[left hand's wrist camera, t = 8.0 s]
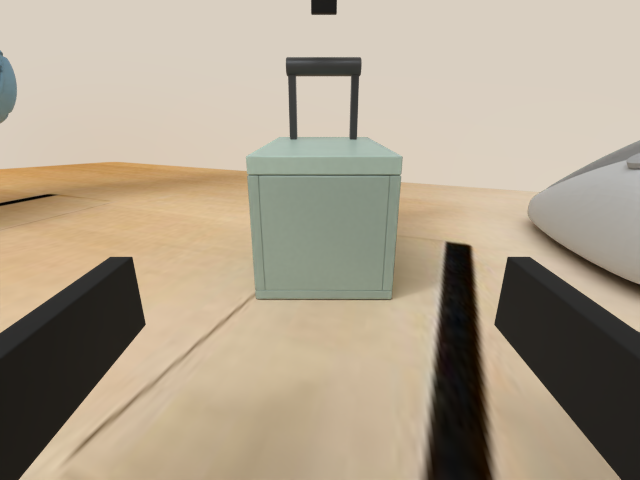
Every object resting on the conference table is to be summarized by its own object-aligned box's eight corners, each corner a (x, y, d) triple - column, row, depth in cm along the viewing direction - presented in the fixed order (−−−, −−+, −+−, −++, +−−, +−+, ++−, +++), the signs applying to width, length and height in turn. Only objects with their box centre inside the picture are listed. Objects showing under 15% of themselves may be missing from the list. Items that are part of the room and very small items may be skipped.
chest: (281, 226, 42) (278, 149, 39) (364, 226, 42) (368, 149, 39) (255, 299, 26) (247, 175, 23) (391, 299, 26) (401, 175, 23)
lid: (279, 148, 40) (275, 62, 37) (367, 148, 40) (371, 62, 37) (247, 174, 23) (236, 18, 20) (401, 175, 23) (413, 18, 20)
